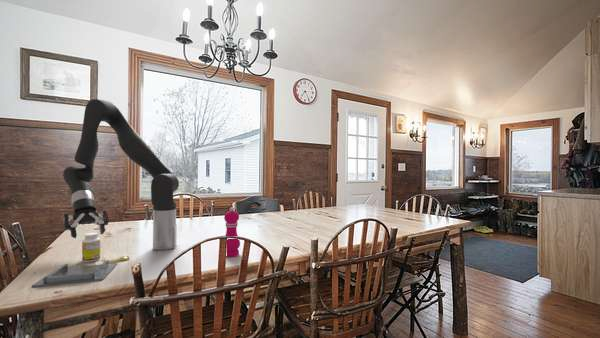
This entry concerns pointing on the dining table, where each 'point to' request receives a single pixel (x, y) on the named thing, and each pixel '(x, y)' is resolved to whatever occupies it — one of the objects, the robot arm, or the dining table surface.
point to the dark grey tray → (76, 274)
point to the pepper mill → (232, 232)
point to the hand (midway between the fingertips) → (89, 235)
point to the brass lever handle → (119, 259)
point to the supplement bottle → (91, 247)
